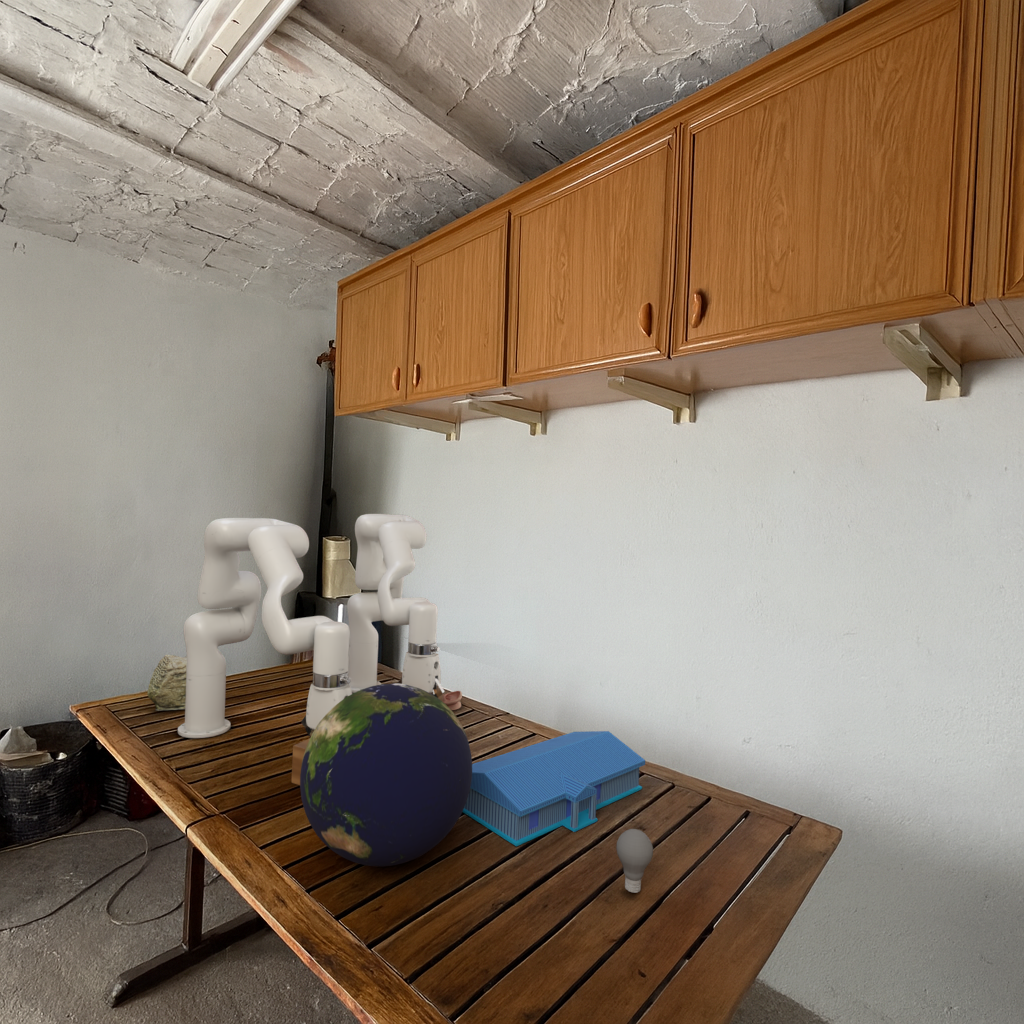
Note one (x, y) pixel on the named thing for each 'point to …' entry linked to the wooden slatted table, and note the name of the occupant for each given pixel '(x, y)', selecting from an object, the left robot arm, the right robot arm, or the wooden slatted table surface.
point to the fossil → (169, 683)
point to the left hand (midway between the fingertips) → (327, 760)
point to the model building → (552, 784)
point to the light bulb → (634, 857)
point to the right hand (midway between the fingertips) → (419, 714)
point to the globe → (386, 775)
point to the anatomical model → (453, 699)
